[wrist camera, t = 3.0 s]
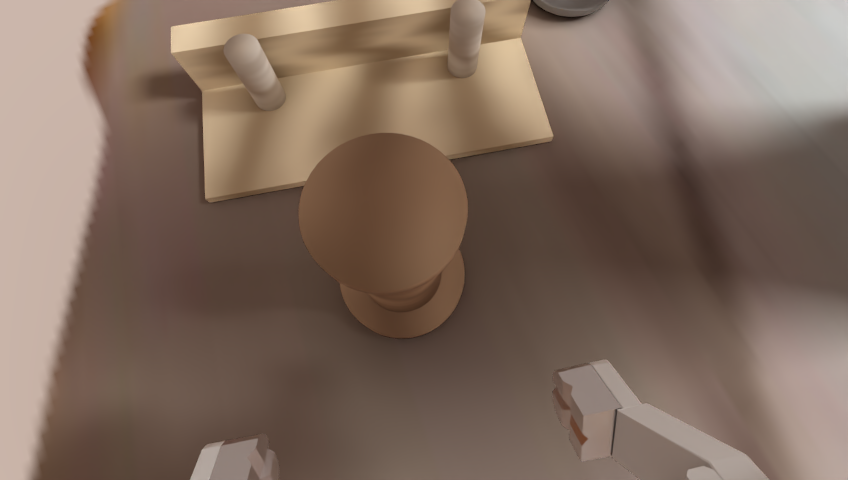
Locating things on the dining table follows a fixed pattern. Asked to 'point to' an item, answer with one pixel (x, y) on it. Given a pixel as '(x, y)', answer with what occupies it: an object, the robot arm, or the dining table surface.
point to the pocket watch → (571, 6)
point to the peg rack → (356, 84)
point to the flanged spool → (388, 231)
